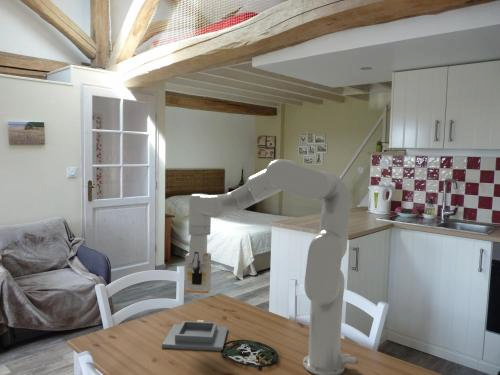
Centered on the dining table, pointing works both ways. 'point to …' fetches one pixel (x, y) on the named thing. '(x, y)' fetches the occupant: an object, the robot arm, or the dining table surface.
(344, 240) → the robot arm
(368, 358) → the dining table surface
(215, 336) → the cradle board
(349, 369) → the dining table surface
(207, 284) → the supplement box
